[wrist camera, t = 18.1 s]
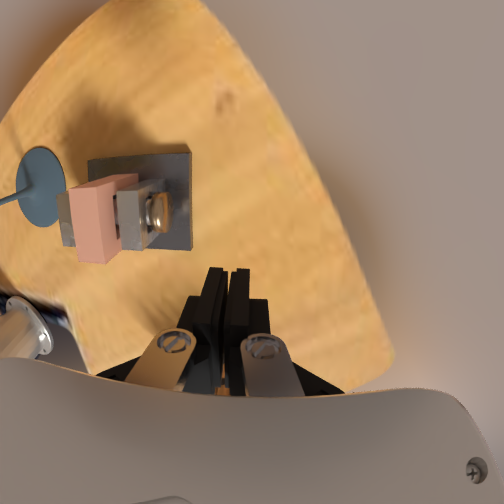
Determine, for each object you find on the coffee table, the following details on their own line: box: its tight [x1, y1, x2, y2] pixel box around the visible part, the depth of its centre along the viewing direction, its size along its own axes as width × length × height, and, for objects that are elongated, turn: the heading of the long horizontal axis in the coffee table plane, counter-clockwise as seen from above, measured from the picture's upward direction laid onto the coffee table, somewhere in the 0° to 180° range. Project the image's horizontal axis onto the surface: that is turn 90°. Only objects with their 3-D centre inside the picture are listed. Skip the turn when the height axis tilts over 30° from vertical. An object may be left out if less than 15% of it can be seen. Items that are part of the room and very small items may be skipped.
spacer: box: [68, 173, 139, 264], centre depth 23 cm, size 3×6×8 cm, turn 178°
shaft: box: [113, 192, 174, 233], centre depth 23 cm, size 9×4×4 cm, turn 88°
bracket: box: [56, 153, 193, 251], centre depth 24 cm, size 12×10×8 cm
